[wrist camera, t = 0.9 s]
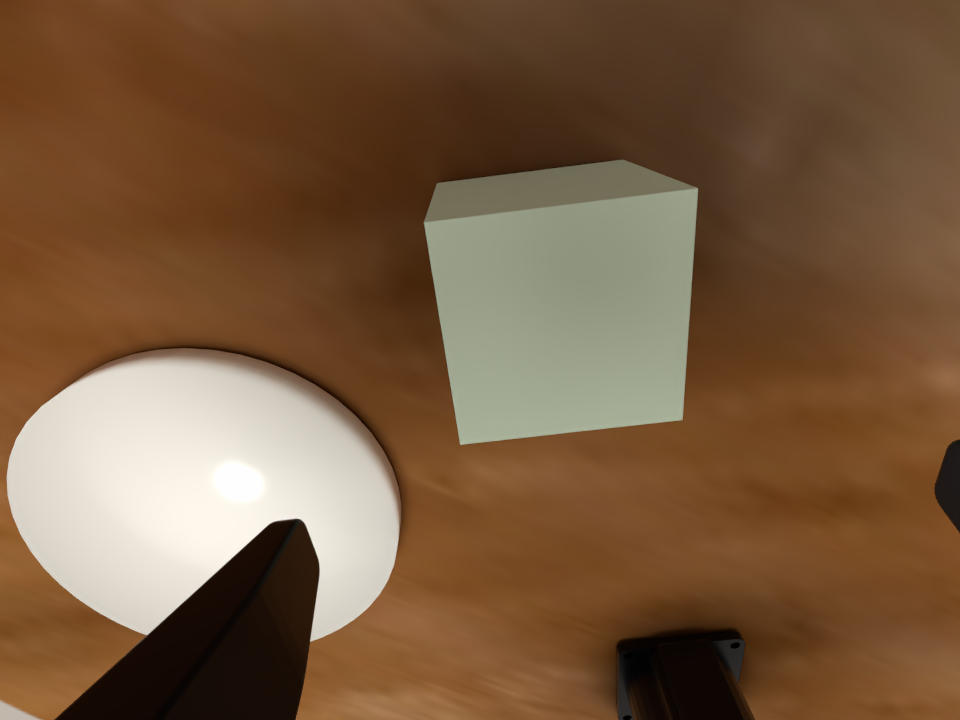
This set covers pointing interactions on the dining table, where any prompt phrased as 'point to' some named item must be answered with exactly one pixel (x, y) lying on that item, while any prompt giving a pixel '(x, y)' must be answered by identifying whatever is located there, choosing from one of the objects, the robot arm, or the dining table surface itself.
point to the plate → (199, 483)
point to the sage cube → (563, 298)
